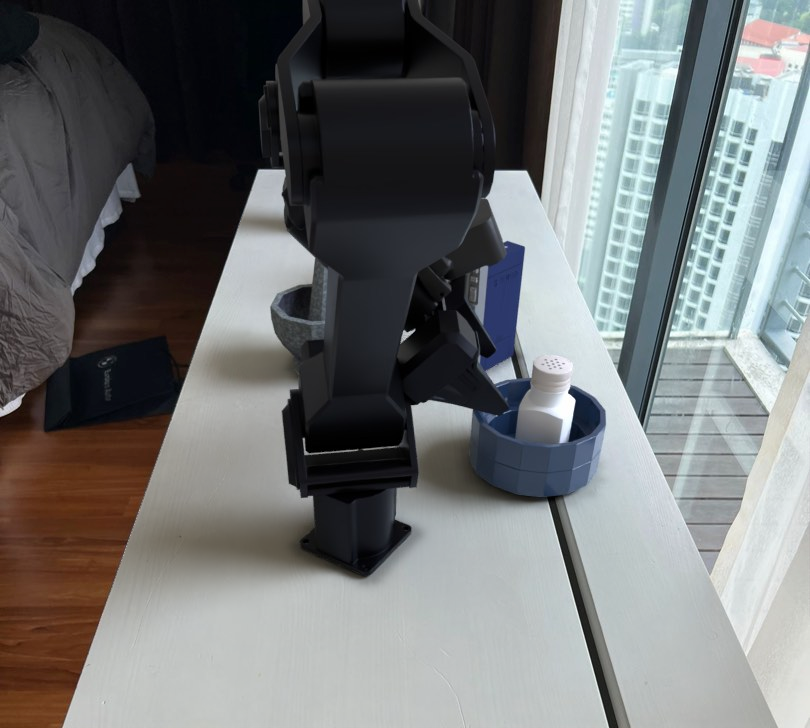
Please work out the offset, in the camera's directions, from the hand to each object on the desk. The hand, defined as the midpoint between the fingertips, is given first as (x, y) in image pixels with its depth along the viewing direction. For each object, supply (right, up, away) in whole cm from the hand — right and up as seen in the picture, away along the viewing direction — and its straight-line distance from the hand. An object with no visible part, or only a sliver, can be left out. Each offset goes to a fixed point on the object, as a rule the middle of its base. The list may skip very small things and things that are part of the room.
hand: (498, 381), depth 68 cm
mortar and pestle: (-16, +5, +19) cm, 25 cm away
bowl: (+4, -6, +5) cm, 9 cm away
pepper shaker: (+4, -6, +5) cm, 9 cm away
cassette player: (+1, +5, +20) cm, 20 cm away
